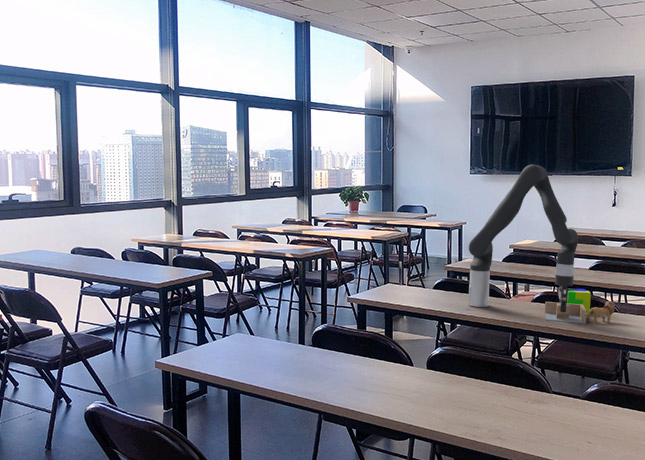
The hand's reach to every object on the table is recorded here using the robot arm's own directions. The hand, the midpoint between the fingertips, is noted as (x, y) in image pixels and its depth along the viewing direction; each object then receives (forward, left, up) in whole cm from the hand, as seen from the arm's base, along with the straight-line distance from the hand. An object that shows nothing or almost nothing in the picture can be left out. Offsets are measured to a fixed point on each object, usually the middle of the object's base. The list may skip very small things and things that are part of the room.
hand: (562, 310), depth 277 cm
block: (0, 0, -3) cm, 3 cm away
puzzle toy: (+7, +20, -4) cm, 22 cm away
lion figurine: (+16, 0, -4) cm, 16 cm away
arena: (+1, +1, -4) cm, 4 cm away
